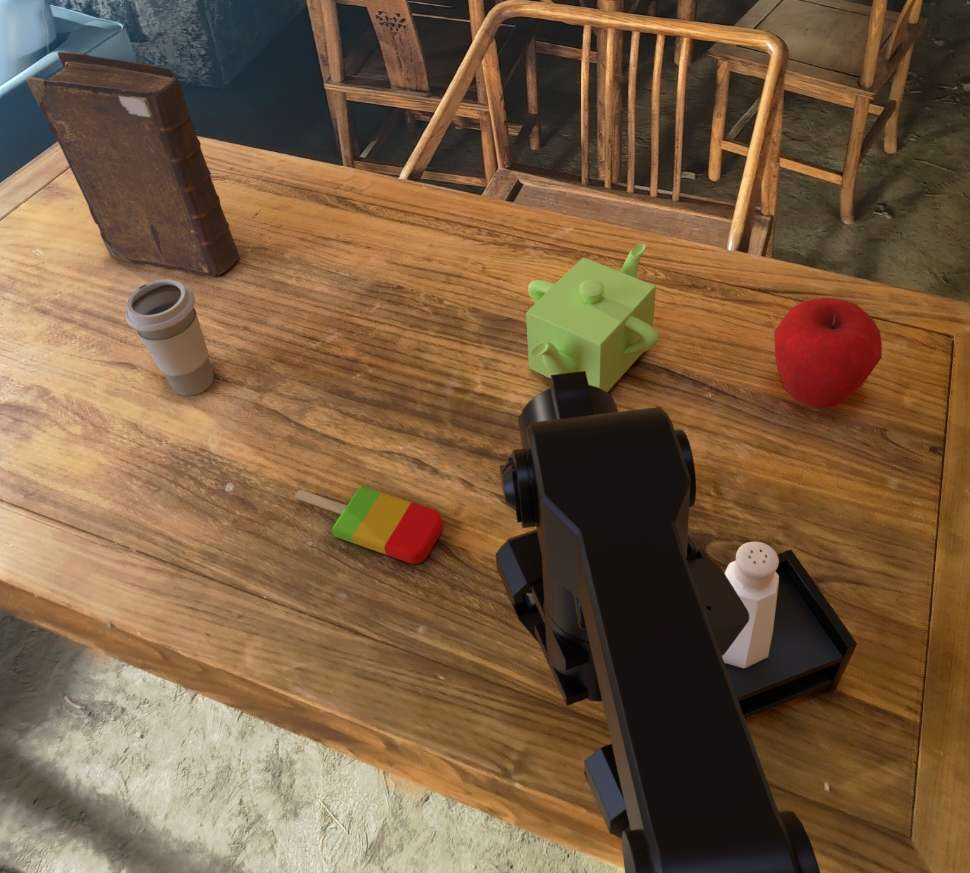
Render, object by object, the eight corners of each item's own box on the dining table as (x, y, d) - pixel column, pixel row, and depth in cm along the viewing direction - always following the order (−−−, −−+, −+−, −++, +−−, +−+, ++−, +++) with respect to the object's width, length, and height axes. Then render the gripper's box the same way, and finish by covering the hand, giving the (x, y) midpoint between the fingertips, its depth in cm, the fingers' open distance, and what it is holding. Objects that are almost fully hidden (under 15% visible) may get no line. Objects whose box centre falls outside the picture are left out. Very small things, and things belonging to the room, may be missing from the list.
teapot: (639, 309, 105) (644, 232, 97) (679, 392, 96) (689, 315, 88) (507, 335, 103) (501, 259, 95) (535, 422, 95) (532, 346, 87)
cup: (203, 350, 106) (168, 266, 96) (236, 377, 102) (203, 294, 93) (149, 383, 103) (108, 301, 93) (181, 413, 99) (142, 330, 90)
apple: (744, 383, 96) (760, 303, 88) (814, 346, 99) (836, 265, 91) (812, 443, 90) (836, 363, 82) (885, 402, 93) (915, 321, 85)
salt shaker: (764, 603, 72) (788, 521, 64) (780, 667, 69) (809, 588, 61) (694, 608, 73) (709, 526, 64) (707, 672, 69) (725, 594, 61)
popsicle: (422, 569, 84) (419, 558, 83) (283, 520, 89) (278, 508, 87) (448, 523, 87) (446, 511, 86) (313, 478, 92) (309, 466, 91)
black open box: (836, 689, 74) (857, 643, 68) (676, 751, 71) (685, 709, 66) (775, 598, 79) (791, 548, 74) (626, 653, 77) (630, 606, 71)
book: (247, 256, 116) (183, 67, 98) (213, 291, 112) (140, 101, 94) (144, 229, 122) (65, 44, 103) (108, 261, 118) (19, 75, 99)
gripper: (836, 698, 44) (782, 817, 55) (659, 428, 56) (645, 572, 67) (618, 782, 42) (610, 886, 53) (484, 483, 54) (501, 621, 66)
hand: (594, 724), depth 60 cm, fingers open, 9 cm apart
